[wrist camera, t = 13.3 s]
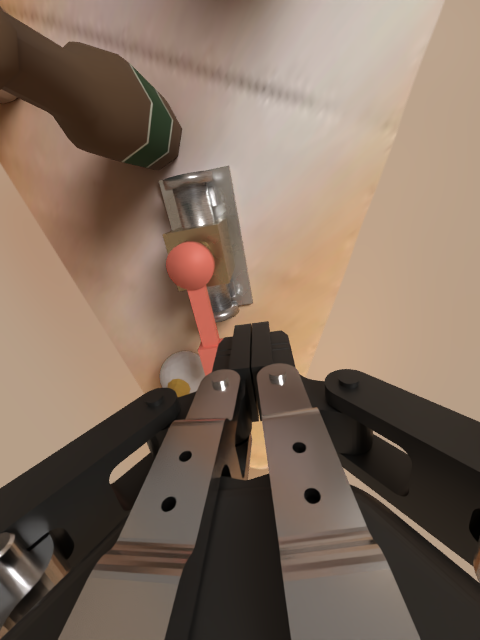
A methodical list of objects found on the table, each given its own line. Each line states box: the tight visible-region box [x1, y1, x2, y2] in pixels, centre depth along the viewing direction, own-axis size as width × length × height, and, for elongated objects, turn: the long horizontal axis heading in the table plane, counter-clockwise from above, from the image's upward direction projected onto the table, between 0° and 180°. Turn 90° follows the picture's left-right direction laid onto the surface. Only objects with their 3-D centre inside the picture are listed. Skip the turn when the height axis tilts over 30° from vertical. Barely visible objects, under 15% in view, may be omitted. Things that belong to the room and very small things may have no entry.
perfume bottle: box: [160, 351, 205, 397], centre depth 42 cm, size 8×10×12 cm
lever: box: [166, 241, 224, 376], centre depth 30 cm, size 15×5×2 cm, turn 11°
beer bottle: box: [0, 7, 182, 170], centre depth 23 cm, size 8×8×24 cm
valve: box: [159, 166, 253, 322], centre depth 34 cm, size 9×18×11 cm, turn 10°
